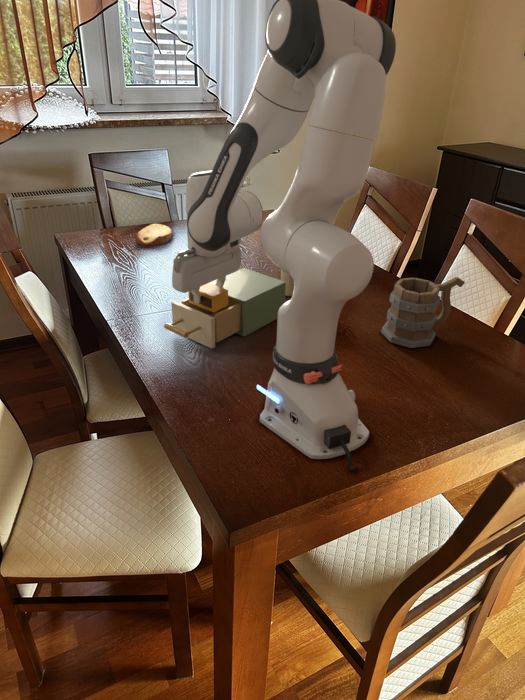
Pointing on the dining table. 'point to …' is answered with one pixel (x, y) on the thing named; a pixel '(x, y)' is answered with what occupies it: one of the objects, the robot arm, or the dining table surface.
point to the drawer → (205, 322)
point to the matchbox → (211, 297)
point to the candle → (287, 283)
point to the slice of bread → (154, 235)
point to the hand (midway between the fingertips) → (208, 297)
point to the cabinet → (255, 297)
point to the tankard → (417, 311)
